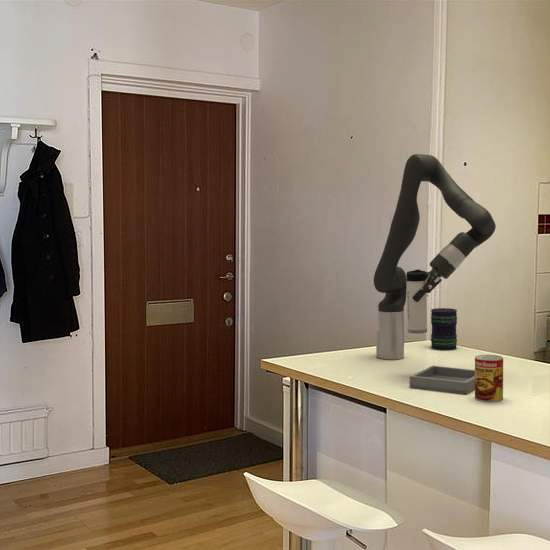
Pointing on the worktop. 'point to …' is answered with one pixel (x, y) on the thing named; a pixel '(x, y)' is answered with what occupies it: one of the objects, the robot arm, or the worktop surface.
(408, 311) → the travel mug
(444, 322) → the storage jar
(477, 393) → the canned food
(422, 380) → the grey tray
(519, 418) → the worktop surface
